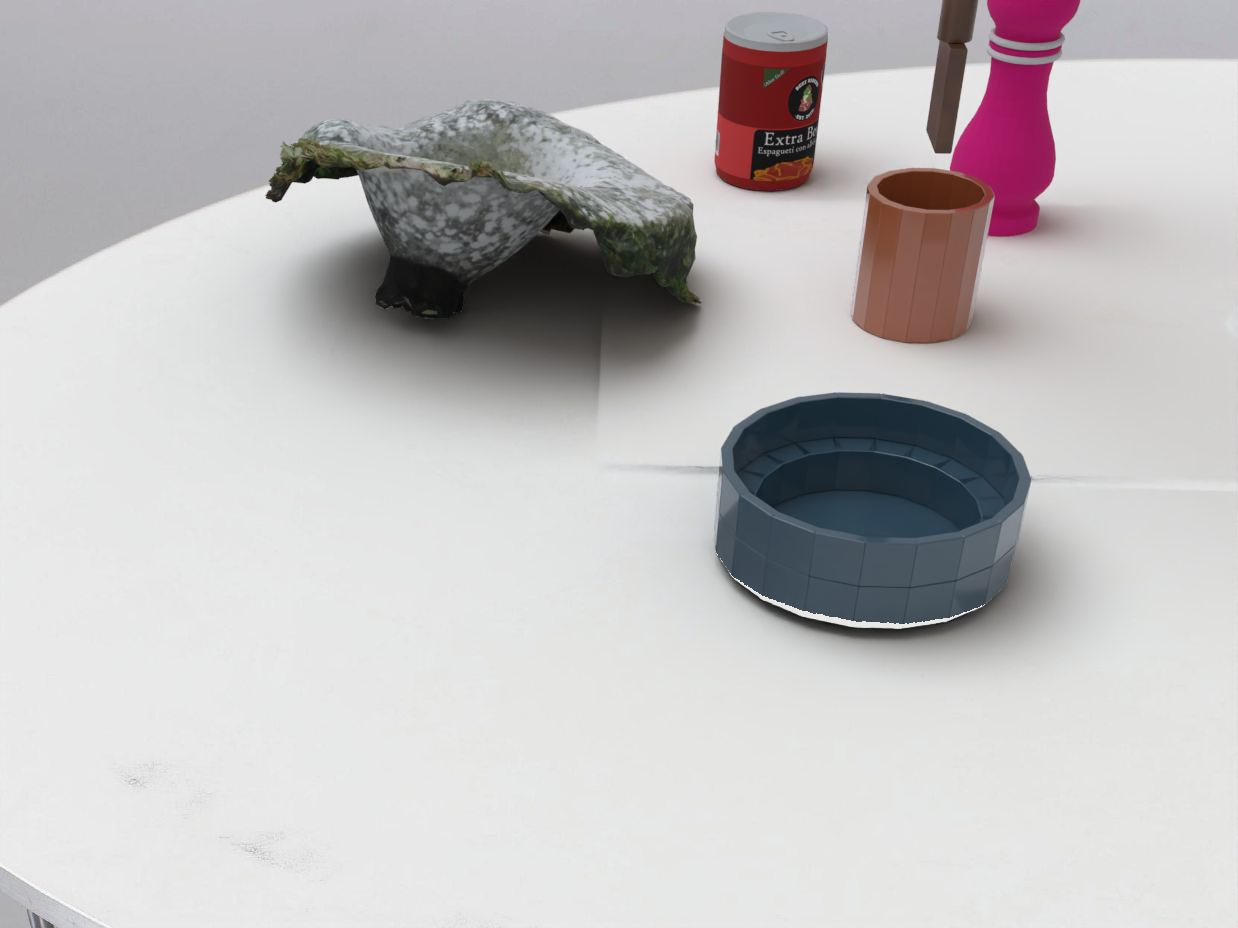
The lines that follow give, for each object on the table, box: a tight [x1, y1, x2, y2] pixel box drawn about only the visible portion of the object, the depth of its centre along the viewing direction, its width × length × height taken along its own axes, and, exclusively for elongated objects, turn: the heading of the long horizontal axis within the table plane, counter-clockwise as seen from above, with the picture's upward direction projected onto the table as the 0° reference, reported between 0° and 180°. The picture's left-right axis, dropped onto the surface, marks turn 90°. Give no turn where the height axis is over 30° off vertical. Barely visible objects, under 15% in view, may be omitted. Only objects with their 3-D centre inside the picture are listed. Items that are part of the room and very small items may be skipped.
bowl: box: [713, 391, 1032, 624], centre depth 85 cm, size 15×15×6 cm
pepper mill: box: [949, 0, 1081, 238], centre depth 114 cm, size 7×7×20 cm
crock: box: [850, 167, 995, 345], centre depth 105 cm, size 8×8×9 cm
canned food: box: [714, 11, 829, 192], centre depth 125 cm, size 8×8×11 cm
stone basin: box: [264, 98, 703, 320], centre depth 107 cm, size 29×30×15 cm
